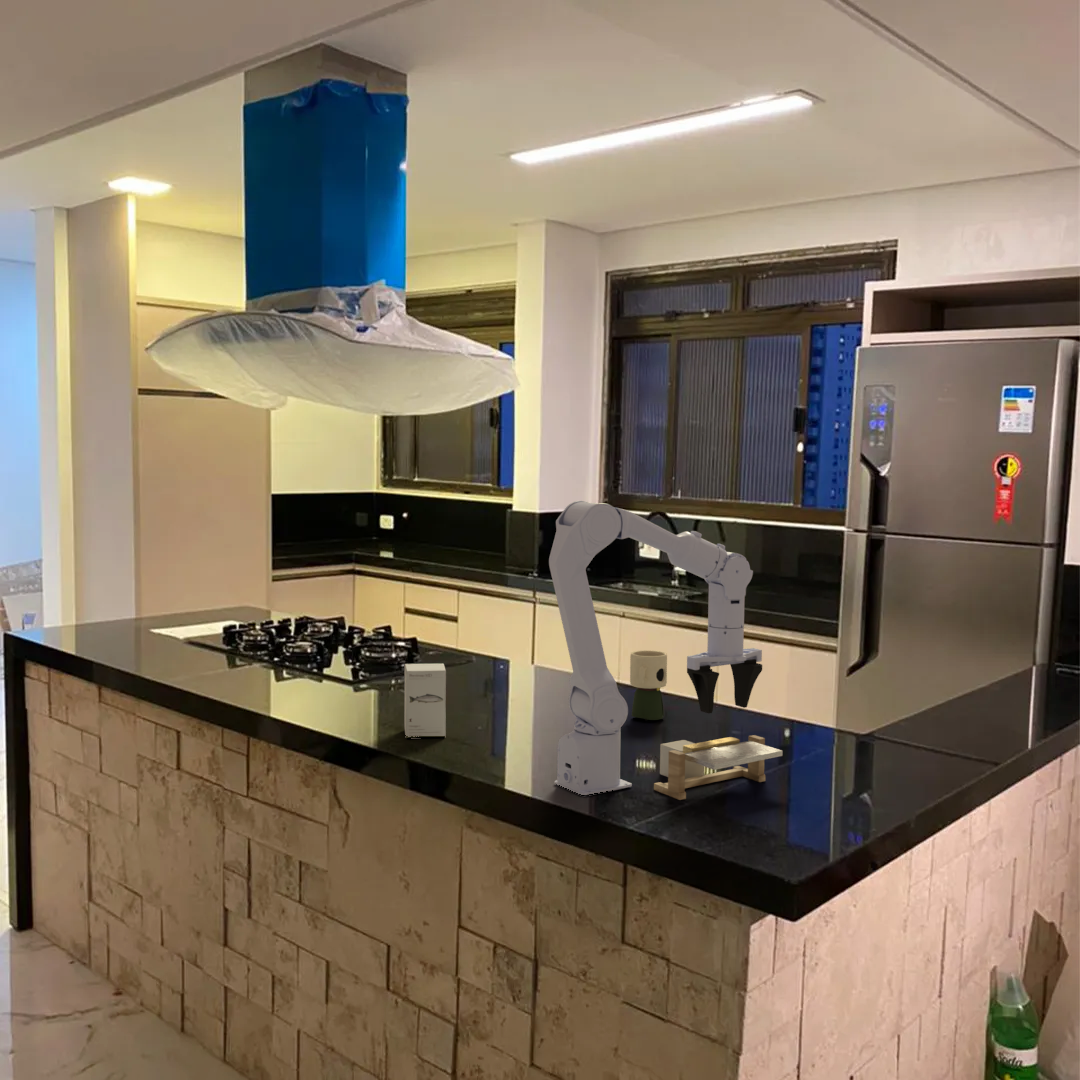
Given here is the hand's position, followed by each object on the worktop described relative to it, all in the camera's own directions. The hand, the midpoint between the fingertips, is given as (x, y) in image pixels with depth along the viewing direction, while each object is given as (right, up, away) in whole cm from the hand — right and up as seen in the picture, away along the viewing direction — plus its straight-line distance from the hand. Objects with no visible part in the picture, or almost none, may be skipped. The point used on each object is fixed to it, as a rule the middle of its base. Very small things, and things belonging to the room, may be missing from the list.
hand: (723, 709), depth 176 cm
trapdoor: (-1, -6, -10) cm, 12 cm away
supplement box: (-51, -9, +23) cm, 57 cm away
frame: (-3, -11, -6) cm, 13 cm away
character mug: (-9, -8, +36) cm, 38 cm away
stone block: (-7, -11, -1) cm, 13 cm away
